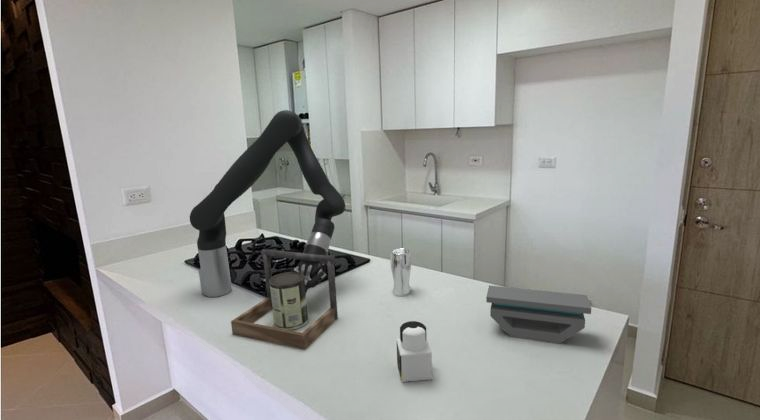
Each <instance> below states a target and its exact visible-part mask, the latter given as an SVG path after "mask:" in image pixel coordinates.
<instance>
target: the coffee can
mask: <svg viewBox="0 0 760 420" xmlns="http://www.w3.org/2000/svg"><path fill="white" fill-rule="evenodd" d="M304 279H305V276H304V274H302V273H300V271H299V272H291V271H287V272H286V271H284V272H282V273H281V272H280V273H278V274H275V275H272V277H271V278H270V279H269V284H270V291H271V299H272V307H273V309H272V313H273V321H274V323H273V324H274V327H275V328H281V329H286V330H291V331H295V330H298V329H300V328H302V327H304V326H306V324H308V323H309V318H310V317H309V312H308V311H309V310H308V302H307V293H306V290H305V280H304Z"/></svg>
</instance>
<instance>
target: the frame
mask: <svg viewBox="0 0 760 420" xmlns="http://www.w3.org/2000/svg"><path fill="white" fill-rule="evenodd" d="M260 253H261V256H262V259H263V267H264V268H263V269H264V276H265V287H266V295H267V297H266V298H264V299H263V300H261V301H260V302H258V303H257V304H255V305H254V306H252V307H251V308H249V309H248V310H246V311H245V312H243V313H242V314H240V315H239V316H236V317H235V318H233V320H231V321H230V324H231V325H230V326H231V332H232V335H235V336H239V337H244V338H249V339H254V340H258V341H262V342H263V341H264V342H267V343H268V342H269V343H273V344H277V345H281V346H288V347H291V348H295V349H299V350H306V349H307V348H308V347H309V346H310V345H311V344H312V343H313V342H314V341H316V339H317V338H318V337H319V336H321V335H322V334H323V333H324V332H325V330H326V329H328V327H330V326H331V325H332V324H333V323H334V322H335V321H336V320H338V319H339V316H338V300H337V289H336V287H337V285H336V274H335V273H336V271H335V261H336V257H335V256H334V255H333V256H332V255H326V256H325V255H316V254H306V253H303V252H297V251H296V252H294V251H284V250H278V249H277V250H275V249H266V248H263V249H262V250H261V252H260ZM271 257H274V258H281V259H292V260H300V261H301V260H308V261H317V262H324V263H326V266H327V279H328V280H327V281H328V293H329V294H328V295H329V308H328V309H327V310H326V311H325V312H324V313H322V315H320V316H319V317H318V318H317V319H316V320H315V321H314V322H312V323H311V324H310V325H309V326H308V327H307V328H306V329H305V330H304V331H302V332H300V331H296V330H286V329H281V328H276V327H275V326H269V325H264V324H260V323H255V322H256V321H257V320H259V319H260V318H262V317H263V316H265V315H266V314H268V313H269V312H270V311H271V310H272V311H273V307H272V299H271V291H270V284H269V279H270V278H271V277H273V273H272V266H271V265H272V264H271Z"/></svg>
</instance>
